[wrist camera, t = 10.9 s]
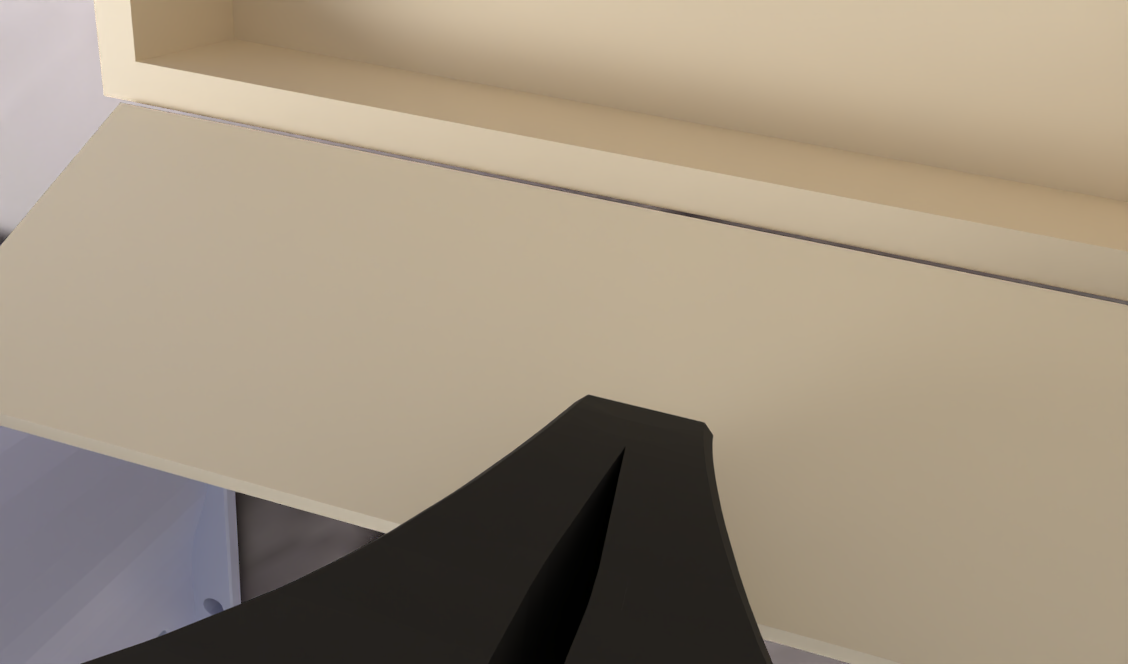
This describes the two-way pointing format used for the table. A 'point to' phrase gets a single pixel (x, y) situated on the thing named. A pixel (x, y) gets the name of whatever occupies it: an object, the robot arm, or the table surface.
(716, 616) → the robot arm
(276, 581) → the table surface
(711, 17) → the carton
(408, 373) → the flap
